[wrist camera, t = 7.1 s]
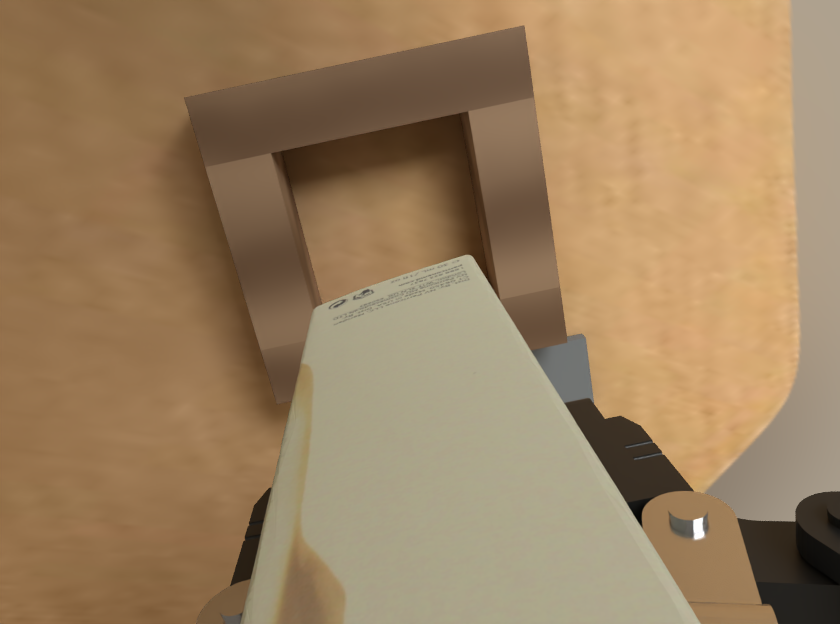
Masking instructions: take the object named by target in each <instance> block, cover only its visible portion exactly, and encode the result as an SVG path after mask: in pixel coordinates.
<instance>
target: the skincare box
mask: <svg viewBox="0 0 840 624" xmlns="http://www.w3.org/2000/svg"><path fill="white" fill-rule="evenodd" d="M240 624H701V623H700V622H699V620H698V618H697V617H696V615H695V613H694V612H693V610H692V608H691V607H690V605H689V603H688V602H687V600H686V599H685V597H684V595H683V594H682V592H681V590H680V589H679V587H678V585H677V584H676V582H675V581H674V579H673V577H672V576H671V574H670V572H669V571H668V569H667V568H666V566H665V564H664V563H663V561H662V559H661V558H660V556H659V555H658V553H657V551H656V550H655V548H654V547H653V545H652V543H651V542H650V540H649V539H648V537H647V535H646V534H645V532H644V531H643V529H642V527H641V526H640V524H639V523H638V521H637V519H636V518H635V516H634V515H633V513H632V511H631V510H630V508H629V506H628V505H627V503H626V501H625V500H624V498H623V497H622V495H621V493H620V492H619V490H618V488H617V487H616V485H615V484H614V482H613V480H612V479H611V477H610V476H609V474H608V473H607V471H606V469H605V468H604V466H603V465H602V463H601V461H600V460H599V458H598V457H597V455H596V454H595V452H594V450H593V449H592V447H591V446H590V444H589V442H588V441H587V439H586V438H585V436H584V434H583V433H582V431H581V430H580V428H579V427H578V425H577V423H576V422H575V420H574V418H573V417H572V415H571V413H570V412H569V410H568V409H567V407H566V405H565V404H564V402H563V401H562V399H561V398H560V396H559V394H558V393H557V391H556V390H555V388H554V387H553V385H552V383H551V382H550V380H549V379H548V377H547V376H546V374H545V372H544V371H543V369H542V368H541V366H540V365H539V363H538V361H537V360H536V358H535V356H534V355H533V353H532V351H531V350H530V348H529V347H528V345H527V344H526V342H525V340H524V339H523V337H522V335H521V334H520V332H519V331H518V329H517V327H516V326H515V324H514V322H513V321H512V319H511V318H510V316H509V315H508V313H507V311H506V310H505V308H504V307H503V305H502V303H501V302H500V300H499V298H498V297H497V295H496V294H495V292H494V290H493V289H492V287H491V285H490V284H489V282H488V280H487V279H486V277H485V276H484V274H483V273H482V271H481V269H480V268H479V266H478V264H477V263H476V261H475V259H474V258H473V257H472V256H471V255H464V256H460V257H457V258H454V259H451V260H448V261H445V262H441V263H438V264H435V265H432V266H428V267H425V268H422V269H419V270H416V271H413V272H410V273H407V274H404V275H401V276H398V277H395V278H392V279H389V280H386V281H383V282H380V283H377V284H374V285H371V286H369V287H366V288H363V289H360V290H358V291H355V292H352V293H350V294H347V295H345V296H342V297H340V298H337V299H335V300H332V301H329V302H327V303H324V304H322V305H320V306H317V307H316V308H315V309H314V310H313V312H312V315H311V320H310V324H309V329H308V333H307V337H306V341H305V346H304V350H303V354H302V358H301V363H300V368H299V373H298V377H297V381H296V385H295V391H294V395H293V398H292V402H291V407H290V410H289V414H288V419H287V423H286V427H285V431H284V435H283V440H282V445H281V450H280V455H279V459H278V463H277V467H276V472H275V476H274V480H273V484H272V488H271V492H270V496H269V501H268V505H267V509H266V514H265V518H264V522H263V527H262V531H261V536H260V541H259V546H258V550H257V555H256V559H255V563H254V568H253V572H252V576H251V580H250V584H249V588H248V592H247V597H246V601H245V605H244V610H243V614H242V618H241V623H240Z"/></svg>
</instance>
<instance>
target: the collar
mask: <svg viewBox="0 0 840 624" xmlns="http://www.w3.org/2000/svg"><path fill="white" fill-rule="evenodd" d="M184 99H185V102H186V106H187V109H188V112H189V116H190V119H191V122H192V126H193V129H194V132H195V135H196V139H197V142H198V145H199V149H200V152H201V155H202V159H203V162H204V165H205V168H206V172H207V175H208V178H209V182H210V185H211V188H212V192H213V195H214V198H215V202H216V205H217V208H218V211H219V215H220V218H221V221H222V225H223V228H224V231H225V235H226V238H227V241H228V244H229V248H230V251H231V254H232V258H233V261H234V264H235V268H236V271H237V274H238V277H239V281H240V284H241V287H242V291H243V294H244V297H245V301H246V304H247V307H248V310H249V314H250V317H251V320H252V324H253V327H254V330H255V334H256V337H257V340H258V343H259V347H260V350H261V353H262V357H263V360H264V363H265V367H266V370H267V373H268V376H269V380H270V383H271V386H272V390H273V393H274V396H275V400H276V403H277V404H281V403H286V402H290V401H292V398H293V395H294V391H295V385H296V381H297V377H298V373H299V368H300V363H301V358H302V354H303V350H304V346H305V341H306V337H307V333H308V329H309V324H310V320H311V315H312V312H313V310H314V309H315V308H316V307H317V306H320V305H322V303H321V299H320V295H319V291H318V287H317V284H316V280H315V276H314V272H313V268H312V265H311V261H310V257H309V253H308V249H307V246H306V242H305V238H304V234H303V230H302V227H301V223H300V219H299V215H298V211H297V208H296V204H295V200H294V196H293V192H292V189H291V185H290V181H289V177H288V173H287V170H286V166H285V162H284V158H283V154H282V151H284V150H288V149H293V148H298V147H302V146H307V145H312V144H317V143H321V142H326V141H331V140H335V139H340V138H345V137H349V136H354V135H359V134H364V133H368V132H373V131H378V130H382V129H387V128H392V127H397V126H401V125H406V124H411V123H415V122H420V121H425V120H430V119H434V118H439V117H444V116H448V115H453V114H458V113H460V116H461V122H462V128H463V133H464V139H465V145H466V151H467V157H468V162H469V168H470V174H471V180H472V185H473V191H474V197H475V203H476V209H477V214H478V220H479V226H480V232H481V237H482V243H483V249H484V255H485V261H486V266H487V272H488V278H489V284H490V285H491V287H492V289H493V290H494V292H495V294H496V295H497V297H498V298H499V300H500V302H501V303H502V305H503V307H504V308H505V310H506V311H507V313H508V315H509V316H510V318H511V319H512V321H513V322H514V324H515V326H516V327H517V329H518V331H519V332H520V334H521V335H522V337H523V339H524V340H525V342H526V344H527V345H528V347H529V348H530V350H536V349H540V348H545V347H550V346H555V345H559V344H564V343H568V342H567V334H566V327H565V320H564V313H563V305H562V298H561V291H560V283H559V276H558V269H557V261H556V254H555V247H554V239H553V232H552V225H551V217H550V210H549V203H548V195H547V188H546V181H545V173H544V166H543V159H542V151H541V144H540V137H539V129H538V122H537V115H536V108H535V100H534V93H533V86H532V78H531V71H530V64H529V56H528V49H527V42H526V34H525V27H524V26H519V27H515V28H510V29H505V30H501V31H496V32H491V33H486V34H482V35H477V36H472V37H468V38H463V39H458V40H453V41H449V42H444V43H439V44H435V45H430V46H425V47H421V48H416V49H411V50H406V51H402V52H397V53H392V54H388V55H383V56H378V57H373V58H369V59H364V60H359V61H355V62H350V63H345V64H341V65H336V66H331V67H326V68H322V69H317V70H312V71H308V72H303V73H298V74H294V75H289V76H284V77H279V78H275V79H270V80H265V81H261V82H256V83H251V84H246V85H242V86H237V87H232V88H228V89H223V90H218V91H214V92H209V93H204V94H199V95H195V96H190V97H185V98H184Z"/></svg>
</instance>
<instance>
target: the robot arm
mask: <svg viewBox="0 0 840 624" xmlns="http://www.w3.org/2000/svg"><path fill="white" fill-rule="evenodd" d="M564 404H565V405H566V407H567V409H568V410H569V412H570V413H571V415H572V417H573V418H574V420H575V422H576V423H577V425H578V427H579V428H580V430H581V431H582V433H583V434H584V436H585V438H586V439H587V441H588V442H589V444H590V446H591V447H592V449H593V450H594V452H595V454H596V455H597V457H598V458H599V460H600V461H601V463H602V465H603V466H604V468H605V469H606V471H607V473H608V474H609V476H610V477H611V479H612V480H613V482H614V484H615V485H616V487H617V488H618V490H619V492H620V493H621V495H622V497H623V498H624V500H625V501H626V503H627V505H628V506H629V508H630V510H631V511H632V513H633V515H634V516H635V518H636V519H637V521H638V523H639V524H640V526H641V527H642V529H643V531H644V532H645V534H646V535H647V537H648V539H649V540H650V542H651V543H652V545H653V547H654V548H655V550H656V551H657V553H658V555H659V556H660V558H661V559H662V561H663V563H664V564H665V566H666V568H667V569H668V571H669V572H670V574H671V576H672V577H673V579H674V581H675V582H676V584H677V585H678V587H679V589H680V590H681V592H682V594H683V595H684V597H685V599H686V600H687V602H688V603H689V605H690V607H691V608H692V610H693V612H694V613H695V615H696V617H697V618H698V620H699V622H700V623H701V624H840V492H823V493H818V494H814V495H811V496H809V497H807V498H805V499H803V500H802V501H801V502H800V503H799V505H798V506H797V508H796V522H785V521H783V522H782V521H752V520H745V519H739V518H737V517H736V515H735V513H734V511H733V510H732V509H731V508H730V507H729V506H728V505H727V504H726V503H724V502H723V501H721V500H720V499H718V498H715V497H713V496H710V495H708V494H704V493H700V492H694V491H693V489H692V488H691V487H690V486H689V484H688V483H687V482H686V481H685V480H684V478H683V477H682V476H681V475H680V473H679V472H678V471H677V470H676V469H675V467H674V466H673V465H672V464H671V462H670V461H669V460H668V459H667V457H666V456H665V455H662V451H661V450H660V449H659V448H658V446H657V445H656V444H655V443H653V442H652V439H651V438H650V437H649V435H648V434H647V433H646V432H645V431H644V429H643V428H642V427H641V426H640V425H638V424H636V423H634V422H632V421H630V420H628V419H626V418H624V417H622V416H617V417H612V418H608V419H604V417H603V416H602V414H601V413H600V412H599V410H598V409H597V407H596V406H595V405H594V403H593V402H592V401H591V399H590V398H585V399H580V400H575V401H570V402H566V403H564ZM270 492H271V488H269V489H268V490H267V491H266V492H265V493H264V495H263V496H262V497H261V498H260V499H259V500H258V502H257V503H256V504H255V505H254V508H253V511H252V515H251V518H250V521H249V526H248V528H247V531H246V535H245V541H244V542H243V545H242V548H241V552H240V555H239V558H238V562H237V565H236V568H235V572H234V575H233V578H232V582H231V585H230V587H228V588H226V589H224V590H223V591H221V592H220V593H218V594H217V595H216V596H214V597H213V598H212V599H211V600H210V601H209V602H208V603H207V604H206V605H205V607H204V608H203V609H202V611H201V612H200V614H199V616H198V619H197V622H196V624H240V623H241V618H242V614H243V610H244V605H245V601H246V597H247V592H248V588H249V584H250V580H251V576H252V572H253V568H254V563H255V559H256V555H257V550H258V546H259V541H260V536H261V531H262V527H263V522H264V518H265V514H266V509H267V505H268V501H269V496H270Z"/></svg>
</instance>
